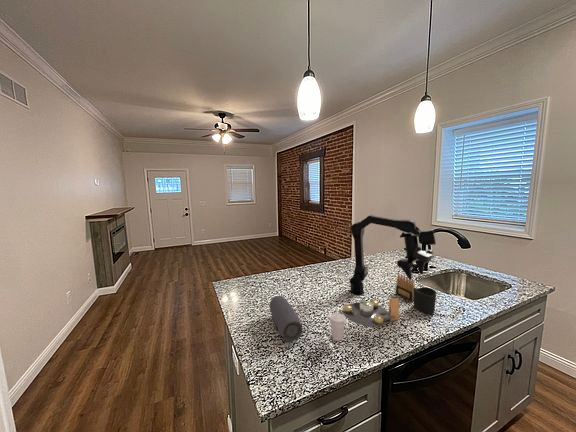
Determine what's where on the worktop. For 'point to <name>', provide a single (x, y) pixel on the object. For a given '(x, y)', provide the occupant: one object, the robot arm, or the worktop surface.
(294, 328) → the bluetooth speaker
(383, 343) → the worktop surface
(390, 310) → the lever
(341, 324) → the smoothie
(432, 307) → the pen holder
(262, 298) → the worktop surface
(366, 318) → the tribrach plate
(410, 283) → the ammunition clip
